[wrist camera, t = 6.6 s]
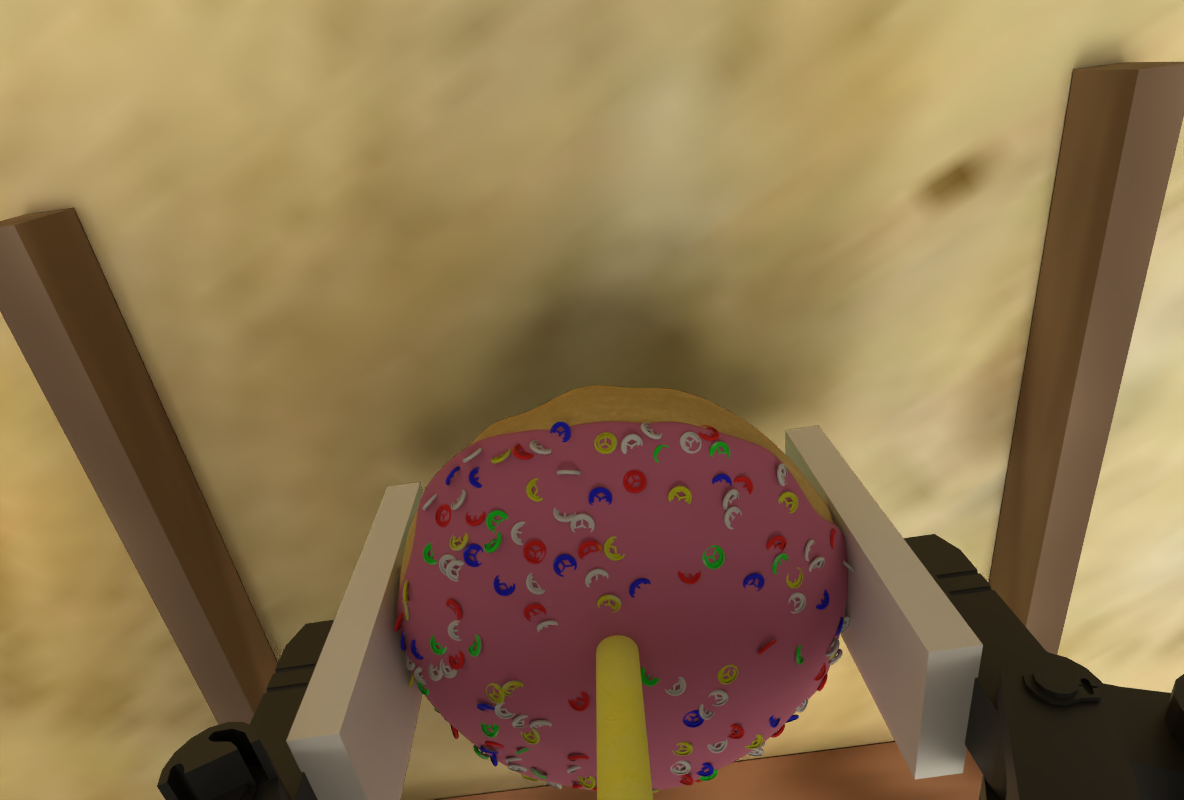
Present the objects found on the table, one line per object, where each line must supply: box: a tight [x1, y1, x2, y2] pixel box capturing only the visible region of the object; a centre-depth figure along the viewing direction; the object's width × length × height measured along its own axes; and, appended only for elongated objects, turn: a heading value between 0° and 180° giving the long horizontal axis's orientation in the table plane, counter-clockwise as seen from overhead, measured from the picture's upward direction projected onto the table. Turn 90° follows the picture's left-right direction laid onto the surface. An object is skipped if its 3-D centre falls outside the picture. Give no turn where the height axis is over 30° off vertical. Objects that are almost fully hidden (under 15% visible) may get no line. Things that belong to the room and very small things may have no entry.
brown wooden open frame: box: [0, 62, 1184, 800], centre depth 20 cm, size 26×26×5 cm
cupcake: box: [394, 385, 855, 800], centre depth 12 cm, size 9×8×12 cm
